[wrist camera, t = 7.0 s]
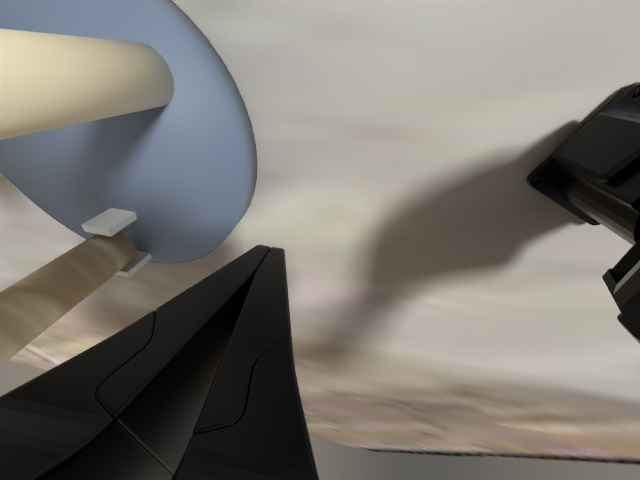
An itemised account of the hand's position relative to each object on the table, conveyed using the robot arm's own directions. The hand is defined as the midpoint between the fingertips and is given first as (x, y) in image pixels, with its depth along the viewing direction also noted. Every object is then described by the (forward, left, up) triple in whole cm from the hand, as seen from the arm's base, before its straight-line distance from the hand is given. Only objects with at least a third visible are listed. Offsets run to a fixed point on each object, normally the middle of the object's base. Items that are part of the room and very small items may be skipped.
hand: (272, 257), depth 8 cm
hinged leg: (+11, +13, -8) cm, 19 cm away
